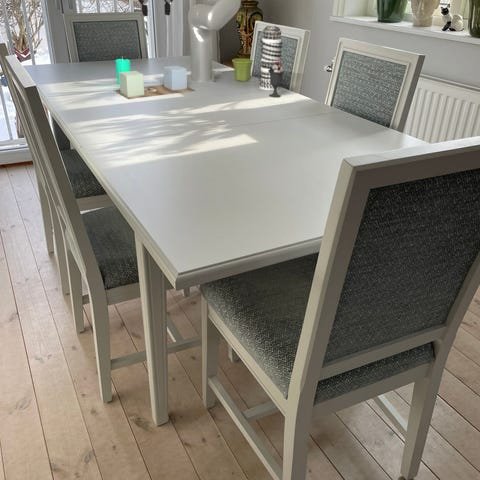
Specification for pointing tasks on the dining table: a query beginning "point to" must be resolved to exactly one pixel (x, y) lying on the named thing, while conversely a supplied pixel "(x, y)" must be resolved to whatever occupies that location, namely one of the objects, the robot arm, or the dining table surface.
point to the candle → (122, 67)
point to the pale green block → (131, 83)
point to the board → (156, 91)
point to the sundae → (276, 77)
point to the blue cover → (175, 77)
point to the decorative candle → (269, 54)
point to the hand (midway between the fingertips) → (156, 15)
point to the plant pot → (242, 69)
